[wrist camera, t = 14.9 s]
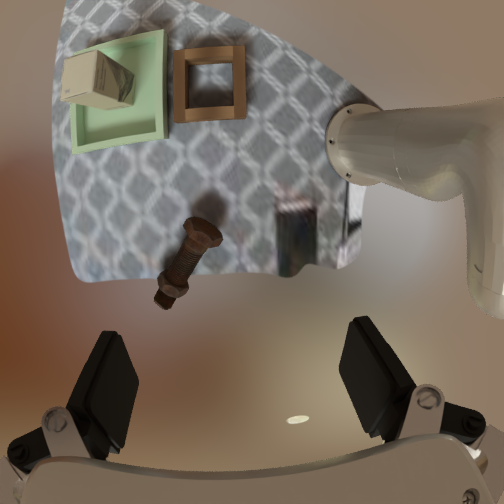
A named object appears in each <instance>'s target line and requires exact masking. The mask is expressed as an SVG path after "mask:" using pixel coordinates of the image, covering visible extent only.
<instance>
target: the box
mask: <svg viewBox="0 0 504 504" xmlns="http://www.w3.org/2000/svg"><path fill="white" fill-rule="evenodd" d="M134 90H135V74H133V73H132V72H131V71H129V70H128V69H126V68H125V67H123V66H122V65H120V64H119V63H117V62H116V61H114V60H113V59H111V58H110V57H108V56H107V55H105V54H104V53H102V52H101V51H99V50H97V49H95V50H92V51H87V52H84V53H80V54H77V55H74V56H71V57H68V58H66V59H65V60H64V65H63V72H62V79H61V92H60V101H65V102H70V103H75V104H80V105H85V106H89V107H94V108H98V109H102V110H107V111H108V110H114V109H120V108H126V107H131V106H133V103H134Z"/></svg>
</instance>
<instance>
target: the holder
mask: <svg viewBox="0 0 504 504" xmlns="http://www.w3.org/2000/svg"><path fill="white" fill-rule="evenodd" d="M219 63H232V70H233V106H219V107H204V108H192V109H189V77H188V66H193V65H204V64H219ZM173 113H174V122H176V123H188V122H199V121H213V120H233V119H245V118H246V76H245V46H216V47H202V48H191V49H183V50H175V51H173Z"/></svg>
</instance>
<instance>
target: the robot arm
mask: <svg viewBox="0 0 504 504" xmlns="http://www.w3.org/2000/svg"><path fill="white" fill-rule="evenodd" d="M347 110H348V113H347ZM329 140H331V143H329ZM325 149H326V154H327V157H328V160H329V162H330V164H331V166H332V167H333V169H334V170H335V171H336V173H338V174H339V175H340V176H341V177H342V178H343V179H345V180H347V181H348V182H351V183H353V184H356V185H360V186H370V185H374V184H377V183H380V182H382V183H385V184H387V185H391V186H393V187H396V188H398V189H401V190H404V191H406V192H409V193H411V194H414V195H417V196H420V197H422V198H425V199H428V200H431V201H447V200H450V199H452V198H454V197H456V196H458V195H460V194H461V193H462V195H463V199H464V207H465V218H466V227H467V283H468V288H469V292H470V295H471V297H472V299H473V301H474V302H475V303H476V305H477V306H478V307H479V308H480V309H481V310H482V311H484V312H485V313H487V314H488V315H491V316H493V317H495V318H499V319H504V97H499V98H492V99H487V100H482V101H477V102H472V103H467V104H460V105H454V106H443V107H426V108H409V109H396V110H386V111H381V110H380V109H378V108H376V107H374V106H372V105H368V104H352V105H349V106H346V107H344V108H342V109H340V110H339V111H338V112H337V113H336V114H335V115H334V116H333V117H332V119H331V120H330V122H329V124H328V126H327V130H326V134H325ZM347 173H348V175H347V176H346V174H347ZM339 373H340V375H341V378H342V380H343V382H344V384H345V387H346V389H347V391H348V394H349V396H350V398H351V401H352V403H353V406H354V408H355V410H356V413H357V415H358V417H359V420H360V422H361V424H362V427H363V429H364V431H365V433H369V435H370V437H371V438H373V437H376V436H379V435H381V437H382V440H383V442H382V445H379V446H375V447H372V448H369V449H365V450H362V451H358V452H355V453H350V454H346V455H343V456H339V457H334V458H330V459H326V460H321V461H316V462H311V463H305V464H300V465H293V466H286V467H279V468H270V469H260V470H248V471H224V472H201V471H200V472H199V471H178V470H165V469H155V468H147V467H140V466H132V465H126V464H119V463H114V462H110V461H109V460H108V458H107V457H108V454H109V452H110V453H116V454H119V452H120V448H123V447H124V445H125V440H126V435H127V431H128V427H129V422H130V418H131V413H132V410H133V405H134V402H135V397H136V394H137V390H138V386H139V380H138V376H137V374H136V372H135V369H134V367H133V365H132V362H131V360H130V357H129V355H128V352H127V350H126V347H125V345H124V342H123V339H122V337H121V335H118V333H117V332H116V331H102V333H101V334H100V336H99V338H98V340H97V342H96V344H95V346H94V348H93V350H92V352H91V354H90V356H89V358H88V361H87V362H86V363H85V365H84V367H83V370H82V372H81V374H80V376H79V378H78V380H77V383H76V385H75V387H74V389H73V392H72V394H71V396H70V398H69V401H68V403H67V406H66V408H64V407H61V406H56V407H52V408H50V409H48V410H47V411H46V412H45V413H44V415H43V416H42V420H41V427H40V428H37V429H35V430H34V431H31V432H29V433H27V434H25V435H23V436H21V437H19V438H17V439H15V440H13V441H12V442H11V443H10V444H9V447H8V450H7V454H8V456H7V457H5V456H3V457H2V458H1V459H0V504H497V502H498V500H499V498H500V496H501V494H502V492H503V490H504V433H503V432H502V431H500V430H498V429H497V428H495V427H493V426H492V425H489V426H486V422H485V418H484V417H483V415H482V414H481V413H479V412H477V411H475V410H472V409H468V408H465V407H461V406H458V405H454V404H451V403H448V402H445V398H444V395H443V393H442V391H441V390H440V389H439V388H437V387H436V386H433V385H430V384H423V385H420V386H418V387H417V386H416V384H415V383H414V381H413V380H412V378H411V377H410V375H409V373H408V372H407V370H406V369H405V367H404V366H403V364H402V363H401V361H400V360H399V358H398V357H397V355H396V354H395V353H394V351H393V349H392V348H391V346H390V345H389V344H388V343H387V342H386V341H385V339H384V338H383V336H382V335H381V334H380V332H379V331H378V329H377V328H376V326H375V325H374V324H373V322H372V321H371V319H370V318H369V317H368V316H361V317H355V318H354V319H353V321H352V322H350V323H349V327H348V331H347V335H346V340H345V344H344V348H343V352H342V356H341V360H340V364H339Z"/></svg>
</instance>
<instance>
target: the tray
mask: <svg viewBox="0 0 504 504" xmlns="http://www.w3.org/2000/svg"><path fill="white" fill-rule="evenodd" d="M95 49H97V50H99V51H101V52H102V53H104V54H105V55H107V56H108V57H110V58H111V59H113V60H114V61H116V62H117V63H119V64H120V65H122V66H123V67H125V68H126V69H128V70H129V71H131V72H132V73H133V74H135V90H134V103H133V106H131V107H126V108H120V109H114V110H108V111H107V110H102V109H98V108H94V107H89V106H85V105H80V104H75V103H70V114H71V142H72V155H75V154H81V153H86V152H90V151H95V150H100V149H105V148H110V147H115V146H121V145H127V144H133V143H139V142H146V141H153V140H161V139H169V137H168V110H167V53H168V35H167V34H166V32H165V30H164V29H161V30H156V31H150V32H145V33H140V34H136V35H132V36H127V37H123V38H120V39H116V40H112V41H109V42H105V43H102V44H99V45H96V46H92V47H89V48H87V49H84V50H81V51H78V52H75V53H73V56H74V55H77V54H80V53H84V52H87V51H92V50H95Z"/></svg>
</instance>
